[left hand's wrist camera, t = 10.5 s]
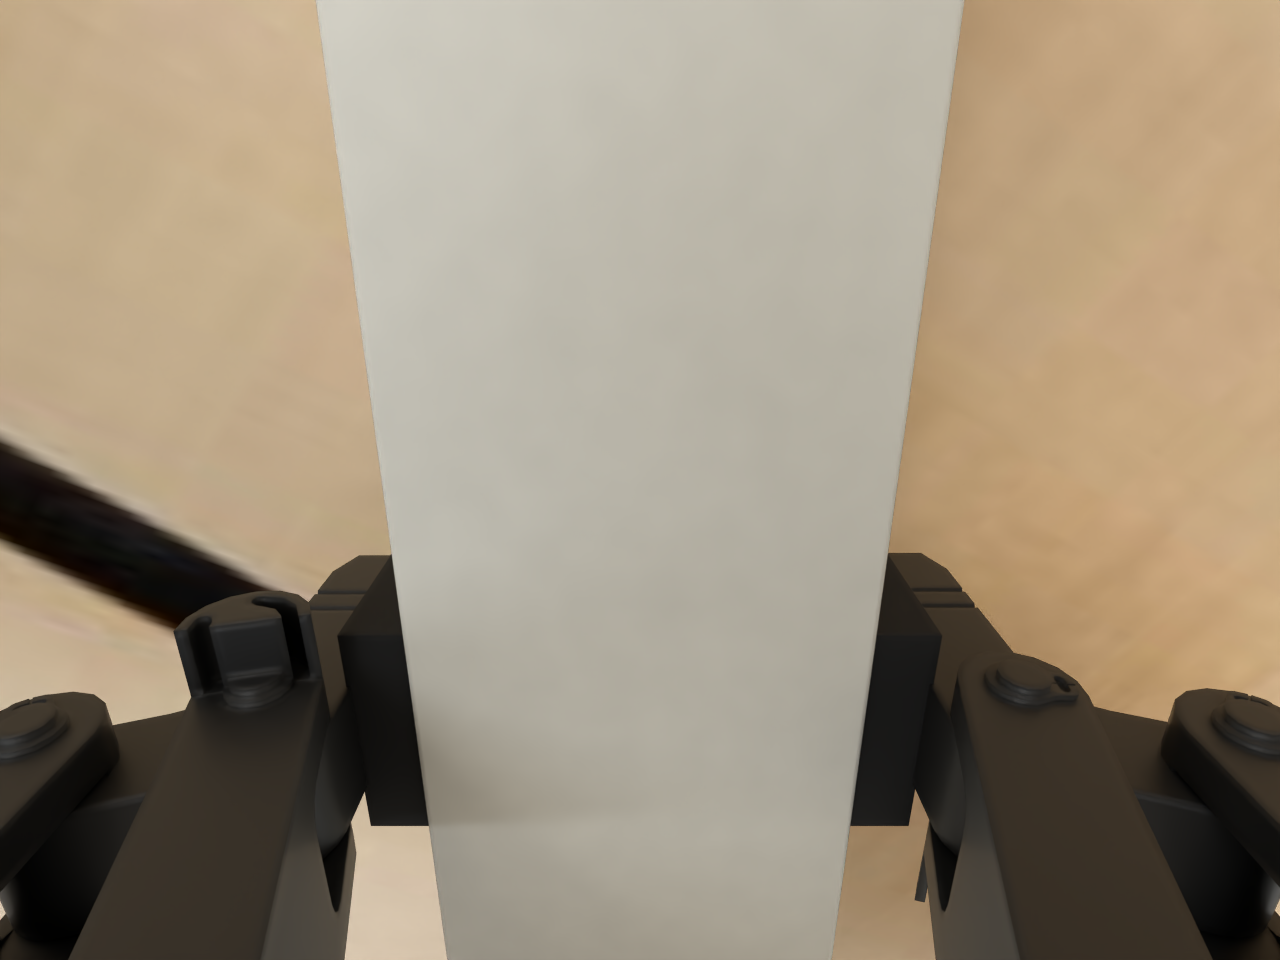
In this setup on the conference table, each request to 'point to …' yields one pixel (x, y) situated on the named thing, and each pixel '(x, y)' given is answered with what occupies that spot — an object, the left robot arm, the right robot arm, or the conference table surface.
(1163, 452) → the conference table surface
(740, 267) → the bar
